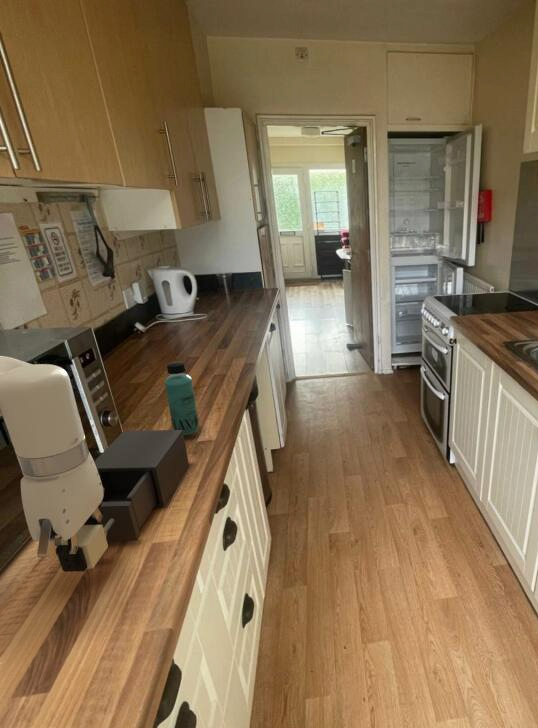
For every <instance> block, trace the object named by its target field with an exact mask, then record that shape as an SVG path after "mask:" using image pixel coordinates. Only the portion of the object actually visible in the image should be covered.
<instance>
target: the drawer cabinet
mask: <svg viewBox="0 0 538 728" xmlns="http://www.w3.org/2000/svg"><path fill="white" fill-rule="evenodd" d="M93 461H94V463H95V465H96V468H97V470H98V472H114V471H152V472H153V477H154V481H155V485H156V490H157V494H158V501H157V502H156V504H155V506H154V507H153V508H165V507H166V505H167V503H168V502H169V501H170V498H171V497H172V495H173V493H174V492H175V491H176V488H177V487H178V485H179V484H180V482H181V480H182V479H183V477H184V475H185V474H186V472H187V471H188V469H189V467H190V462H189V458H188V451H187V445H186V441H185V435H183V430H173V429H165V430H164V429H160V430H159V429H156V430H155V429H154V430H153V429H151V430H150V429H149V430H148V429H145V430H123V431H122V432H121V433H120V434H119V435H118V436H117V437H116V439H115V440H113V442H111V443H110V444H109V446H108V447H106V449H105V450H104V451H103V452H102V453H100V454H99V456H98V457H97V458H96V459H95V460H93Z"/></svg>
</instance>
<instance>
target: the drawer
mask: <svg viewBox="0 0 538 728" xmlns="http://www.w3.org/2000/svg"><path fill="white" fill-rule="evenodd" d="M98 473H99V476H100V480H101V483H102V487H104V493H103V499H102V501H101V502H102V503H101V504H102V505H101V508H100V512H101V514H102V520H101V521H100V522H99V523H101V524H102V525H103V529H104V533H105V537H106V540H107V543H108V542H136V541H137V542H138V540H139V539H140V537H141V534H140V529H141V528H142V526H143V525H144V523H145V521H146V520H147V518H148V517H149V515H150V513H152V510H153V509H154V508H155V507H154V506H155V504H156V502H157V501H158V494H157V490H156V485H155V481H154V477H153V472H152V471H114V472H98Z"/></svg>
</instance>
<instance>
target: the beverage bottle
mask: <svg viewBox="0 0 538 728" xmlns="http://www.w3.org/2000/svg"><path fill="white" fill-rule="evenodd" d="M166 368H167V369H166V371H167V374H169V376H168V377H167V378H166V379H165V380H164V385H165V391H166V397H167V401H168V410H169V416H170V422H171V428H172V430H183V435H184V436H189V435H192V434H194V433H196V432H198V431H199V428H200V423H199V421H200V420H199V414H198V409H197V405H196V404H197V403H196V397H195V395H196V394H195V392H194V386H193V378H192V377H191V376H190V375H188V374H186V373H185V372H187V368H186V365H185V362H183V361H171V362H169V363H168V364H167V365H166Z"/></svg>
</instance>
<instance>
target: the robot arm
mask: <svg viewBox="0 0 538 728" xmlns="http://www.w3.org/2000/svg"><path fill="white" fill-rule="evenodd" d="M0 417H2V419H3V421H4V424H5V427H6V429H7V431H8V435H9V438H10V441H11V444H12V446H13V449H14V452H15V456H16V459H17V461H18V464H19V467H20V470H21V473H22V475H23V477H22V478H21V479H20V496H21V503H22V508H23V513H24V517H25V522H26V525H27V528H28V531H29V534H30V537H31V539H32V540H33V541H34V542H38V547H37V553H36V556H37V558H50V557H55V556H57V555H58V556H57V559H58V558H59V559H58V562H59V561H60V562H59V564H61V565H60V568H61V567H62V568H61V570H62V571H63V572H65V573H67V572H69V573H70V572H72V573H73V572H74V573H75V572H86V570H87V563H86V560H85V557H84V554H83V550H82V548H78V543H77V534H76V533H77V532H78V530H79V529H80V528H81V527H82V526H83V525H102V524H101V523H99V522H100V521H101V520H102V514H101V512H100V508H101V505H102V504H101V503H102V502H101V501H102V499H103V493H104V487H102V483H101V480H100V476H99V473H98V470H97V468H96V465H95V463H94V461H95V460H94V458H93V456H92V454H91V453H90V450H89V446H88V442H87V439H86V435H85V431H84V428H83V424H82V421H81V416H80V413H79V409H78V405H77V401H76V397H75V393H74V390H73V387H72V382H71V379H70V376H69V373H68V372H67V371H66V369H64V368H63V367H61V366H58V365H55V364H49V363H44V364H43V363H41V364H40V363H37V364H33V363H29V362H27V361H23V360H20V359H17V358H15V357H10V356H5V355H0ZM61 539H63V540H64V541H66V540H68V545H61Z"/></svg>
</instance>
